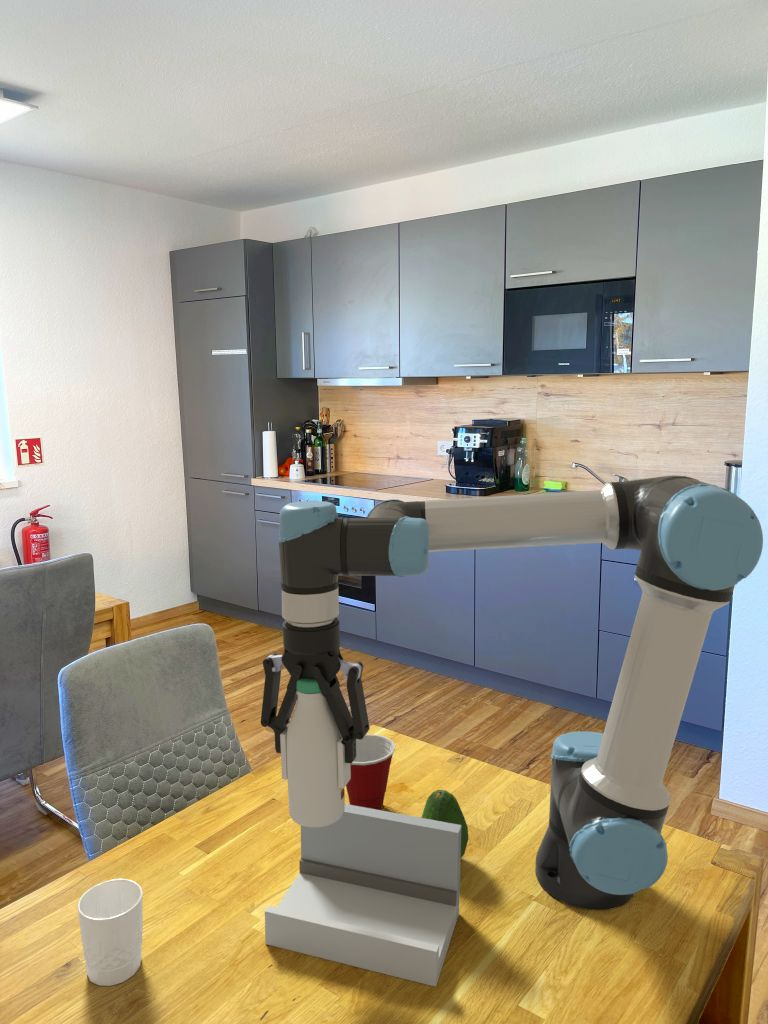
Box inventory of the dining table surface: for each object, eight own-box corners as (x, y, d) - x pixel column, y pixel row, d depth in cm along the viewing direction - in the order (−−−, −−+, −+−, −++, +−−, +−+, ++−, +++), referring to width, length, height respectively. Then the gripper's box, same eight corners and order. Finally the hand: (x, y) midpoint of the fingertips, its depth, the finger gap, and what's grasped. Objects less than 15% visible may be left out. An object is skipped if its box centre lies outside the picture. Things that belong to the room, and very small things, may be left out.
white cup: (124, 936, 104) (121, 870, 102) (158, 964, 99) (154, 895, 97) (70, 969, 98) (65, 900, 96) (103, 1001, 93) (98, 928, 91)
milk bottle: (336, 832, 99) (332, 689, 96) (281, 826, 101) (275, 685, 98) (351, 801, 107) (347, 667, 103) (299, 796, 108) (294, 663, 105)
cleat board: (459, 913, 109) (461, 825, 107) (435, 986, 96) (438, 887, 93) (306, 880, 116) (305, 796, 114) (265, 944, 103) (263, 850, 100)
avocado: (426, 842, 126) (427, 776, 124) (472, 853, 123) (474, 785, 121) (411, 871, 118) (412, 801, 116) (460, 882, 116) (462, 811, 114)
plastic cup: (338, 791, 142) (338, 731, 140) (395, 792, 141) (396, 733, 139) (332, 824, 131) (331, 760, 129) (394, 825, 131) (394, 761, 129)
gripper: (393, 616, 100) (395, 775, 103) (254, 605, 106) (261, 756, 110) (375, 633, 93) (378, 804, 96) (227, 620, 99) (236, 781, 103)
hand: (316, 778), depth 103 cm, fingers closed on milk bottle, 8 cm apart
